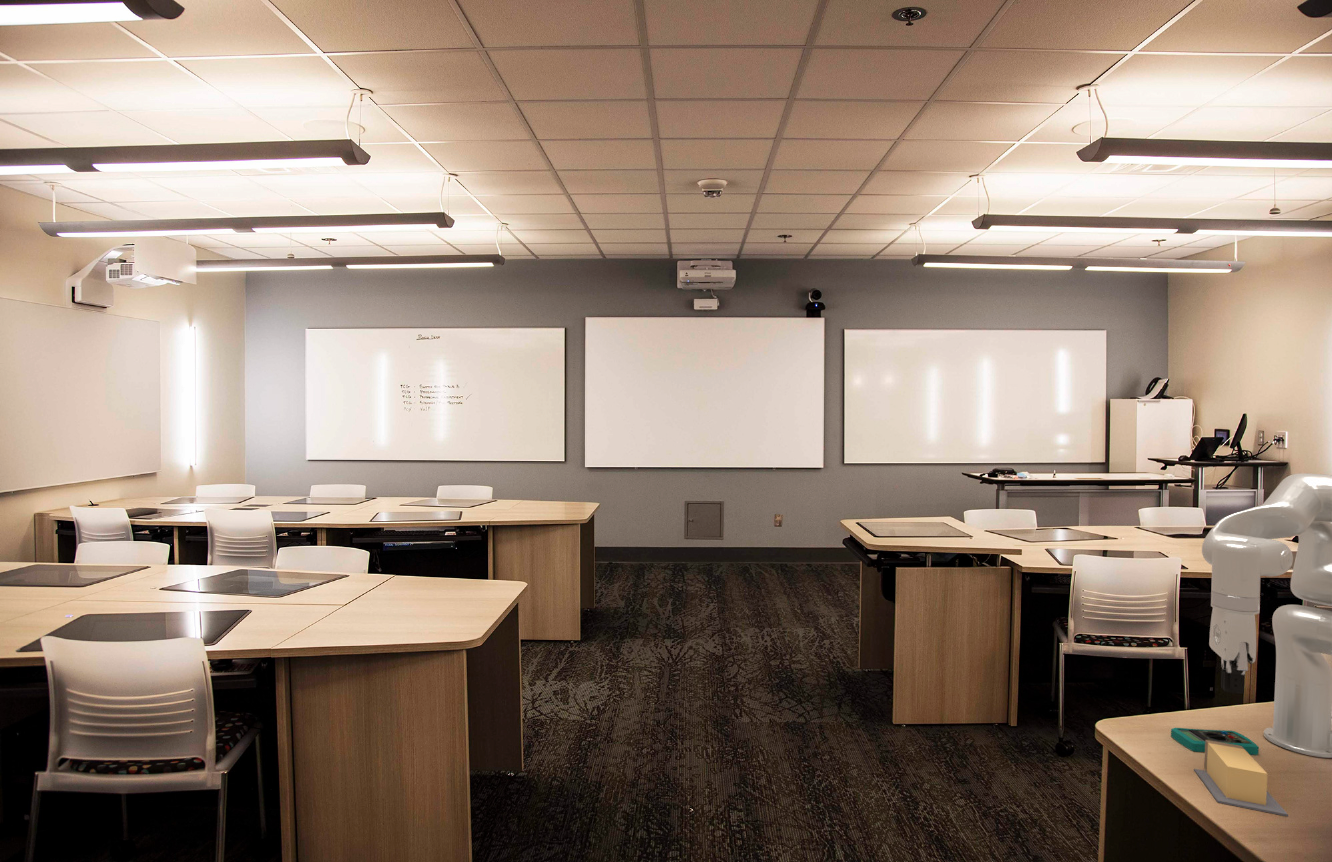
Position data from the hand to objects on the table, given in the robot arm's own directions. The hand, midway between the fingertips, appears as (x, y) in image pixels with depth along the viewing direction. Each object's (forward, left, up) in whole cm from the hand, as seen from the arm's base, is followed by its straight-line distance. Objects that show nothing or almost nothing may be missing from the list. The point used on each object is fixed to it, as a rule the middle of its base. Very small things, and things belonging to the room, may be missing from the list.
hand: (1232, 690), depth 136 cm
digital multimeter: (-3, -17, -19) cm, 25 cm away
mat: (0, +6, -18) cm, 19 cm away
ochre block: (0, -2, -15) cm, 15 cm away
